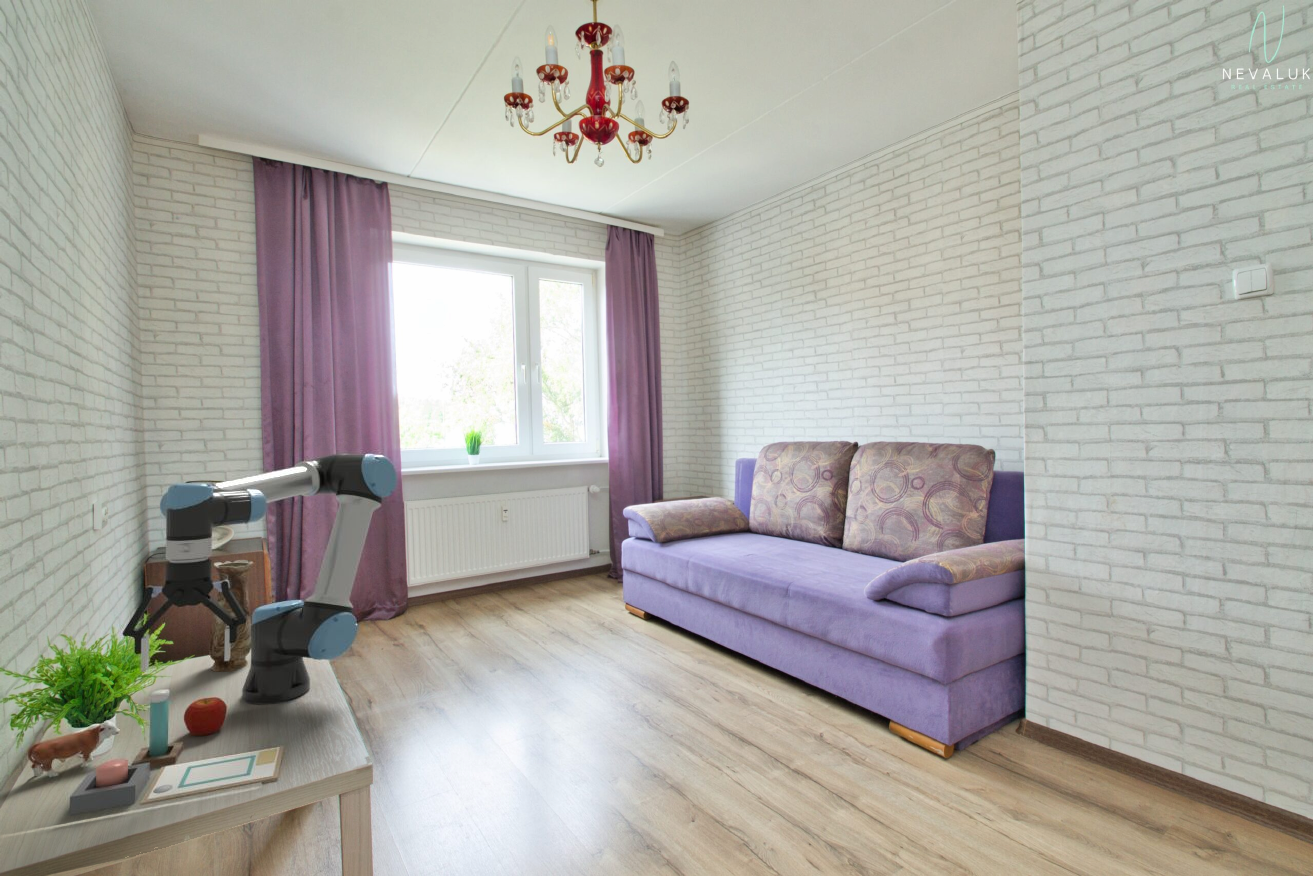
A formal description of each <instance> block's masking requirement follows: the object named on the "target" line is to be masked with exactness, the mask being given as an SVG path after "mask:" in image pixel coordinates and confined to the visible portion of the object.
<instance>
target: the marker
mask: <svg viewBox="0 0 1313 876" xmlns="http://www.w3.org/2000/svg"><path fill="white" fill-rule="evenodd" d="M169 708H170V690H169V689H158V690H155V691H151V692H150V695H149V739H148V740H149V742H148V744H149V746H148V747H149V755H151V758H153V757H159V756H165V755H166V751H167V750H168V744H169V716H170V715H169V713H170V712H169V710H170V709H169Z"/></svg>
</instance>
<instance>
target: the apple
mask: <svg viewBox="0 0 1313 876" xmlns="http://www.w3.org/2000/svg"><path fill="white" fill-rule="evenodd" d="M227 708H228V706H227V704H226V703H225V701H224V700H223V699H222V698H220V697H216V696H215V697H205V698H204V697H203V698H199V699H197V700H194V701H193V702H192V703H190V705H189V706H188V707H187V708H186V709H185V712H184V714H183V721H184V724H185V726H186V729H187V731H188V732H189V733H190V734H191V735H193V736H196V737H197V736H198V737H199V736H200V737H201V736H208V735H211V734H215V733H216V732H218V731H219V730H221V728H222V726H223V725H224V722H225V720H226V717H227V716H226V715H227Z"/></svg>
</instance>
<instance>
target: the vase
mask: <svg viewBox="0 0 1313 876" xmlns="http://www.w3.org/2000/svg"><path fill="white" fill-rule="evenodd" d="M253 565H254V562H253V561H252V560H251V561H248V560H247V559H238V560H237V559H236V560H235V561H232V562H231V561H229V560H227V561H225V562H214V563H213V567H214V569H215V570H216V572H217V573H218V577H219V579H218V582H220V581H223V580H224V579H228V580H229V582H230V589H231V591H232V593H233V594H234V596H235V598H236V599H237V601H238V603H239V604H240V606H241V607H242V609H243V611H244V612H245V614H246V616H247V621H246V623H244V624H241V625H239V626H237V639H236V642H235V643H231V645H230V659H229V661H224V656H225V628H226V626H228V625H227V624H226V623H224V622H223V621H222V620H221V619H220V618H219V617H218V616H217V615H216V614H214V613H213V616H212V618H213V619H212V622H211V623H212V624H211V628H210V633H209V641H208V651H209V656H210V658H211V660H212V661H214V662H213V665H212V666H211V670H212V671H215V672H229V671H234V670H238V669H241V668H245V667H246V666H247V665H248V664H249V663H248V661H247V656H248V655H249V654H250V653H251V623H252V616H251V611H250V602H249V601H250V600H249V590H248V573H249V571H250V569H251V568H252V566H253ZM215 601H216V602H217V603H218V604H219V605H220V606H221V607H222V608H224V609H225V610H226V611H227V612H228V613H229V614H230V615H231V616H232V617H234V618H235V619H237V617H236V615H235V614H234V612H233V611H232V609H231V607H230V606H229V604H228V602H227V601H226V599H225V598H224V596H223V594H222V592H219V591H218V590H217V597H216V600H215Z"/></svg>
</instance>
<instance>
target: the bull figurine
mask: <svg viewBox="0 0 1313 876" xmlns="http://www.w3.org/2000/svg"><path fill="white" fill-rule="evenodd" d="M120 731H121V729H119V728H118V727H117V725H116V724H115V723H114V722H112V721H110V720H109V719H108V720H105V721H104V722H103V723H93V724H91V725H89V726H88V727H86V728H83V729H80V730H78V731H76V732H72V733H70V734H66V735H63V736H59V737H56V738H50V739H47V740H43V741H39V742H36V743H34V744H33V745H31V746H30V747H29V749H28V751H27V757H28V760H29V761H30V762H31V763H32V765H30V767H31V769H32V771H33V777H40V776H42V775H43V774H44V772H46V773H47V775H48V777H49V778H52V777H57V776H59V774H60V773H58V772H56V771H55V770H54V769H53V766H52V765H53V761H54V760H58V761H60V762H61V763H65V762H66V760H67V759H69V758H72V757H74V756H77V755H82V762H81V765H80V768H87V767H88V766H89V764H88V762H92V761H93V760H94V758H93V756H92V753H93V752H94V751H96V750H97V749H98V747H100V746H101V745H102V744H103V743H104V741H105V740H106V739H109V738H110V737H111V736H117V735H118V734H119V733H120Z"/></svg>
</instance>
